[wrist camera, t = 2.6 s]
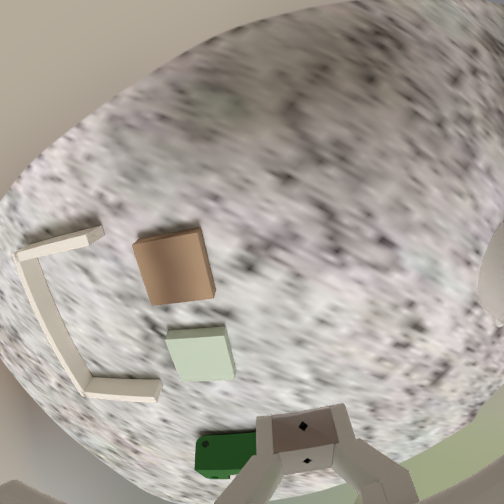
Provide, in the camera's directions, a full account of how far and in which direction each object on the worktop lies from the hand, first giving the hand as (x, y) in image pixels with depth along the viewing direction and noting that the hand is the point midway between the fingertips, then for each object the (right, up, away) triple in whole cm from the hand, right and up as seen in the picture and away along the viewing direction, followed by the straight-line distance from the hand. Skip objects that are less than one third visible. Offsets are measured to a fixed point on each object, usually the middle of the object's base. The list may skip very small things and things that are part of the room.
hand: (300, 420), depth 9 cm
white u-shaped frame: (-19, -2, +19) cm, 27 cm away
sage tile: (-7, -5, +21) cm, 22 cm away
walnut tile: (-8, +5, +17) cm, 20 cm away
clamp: (-2, -21, +27) cm, 34 cm away
